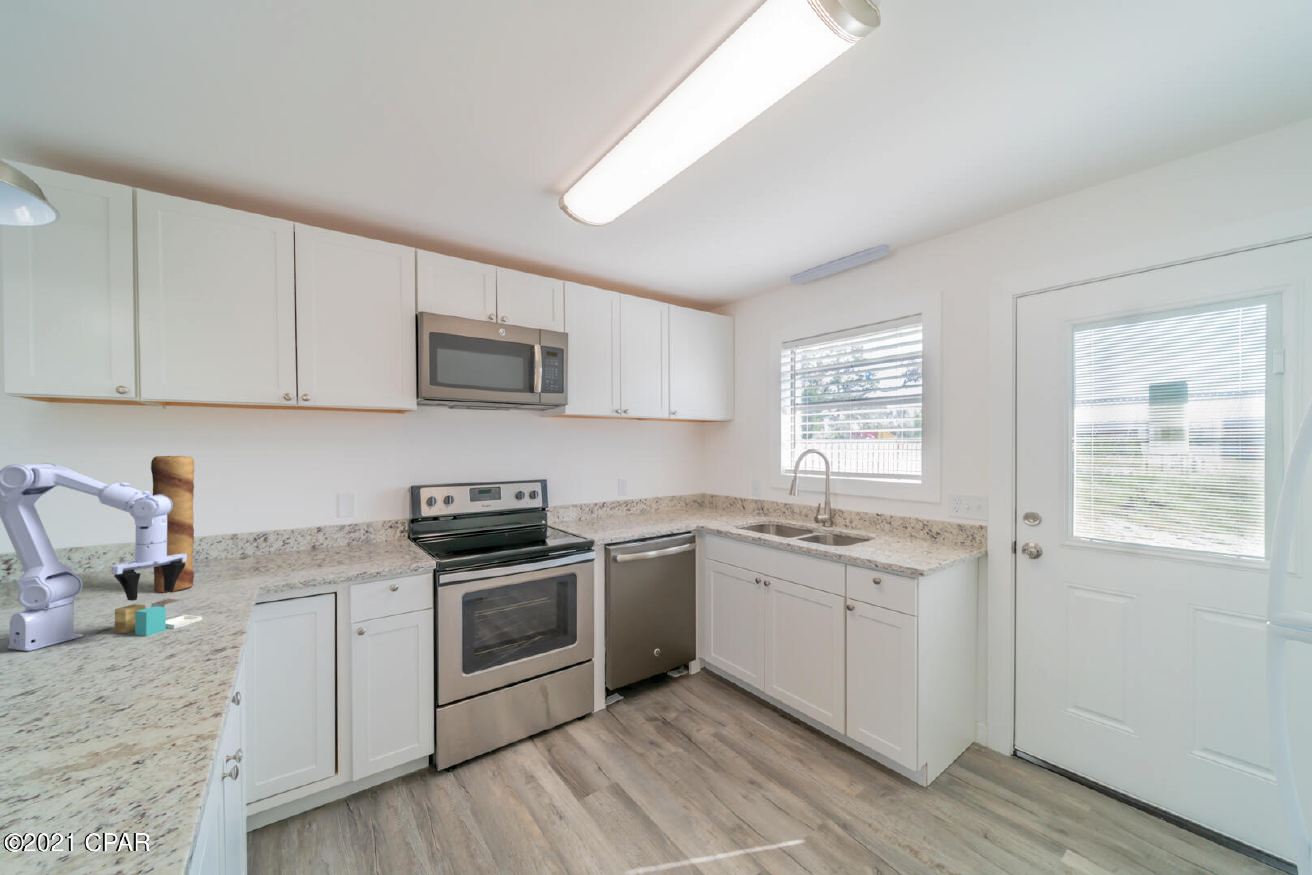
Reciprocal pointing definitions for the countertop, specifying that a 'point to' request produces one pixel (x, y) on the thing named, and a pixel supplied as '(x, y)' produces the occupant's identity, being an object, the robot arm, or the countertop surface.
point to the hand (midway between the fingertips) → (151, 595)
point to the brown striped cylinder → (176, 513)
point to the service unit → (170, 607)
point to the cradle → (182, 621)
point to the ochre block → (126, 618)
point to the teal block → (150, 621)
